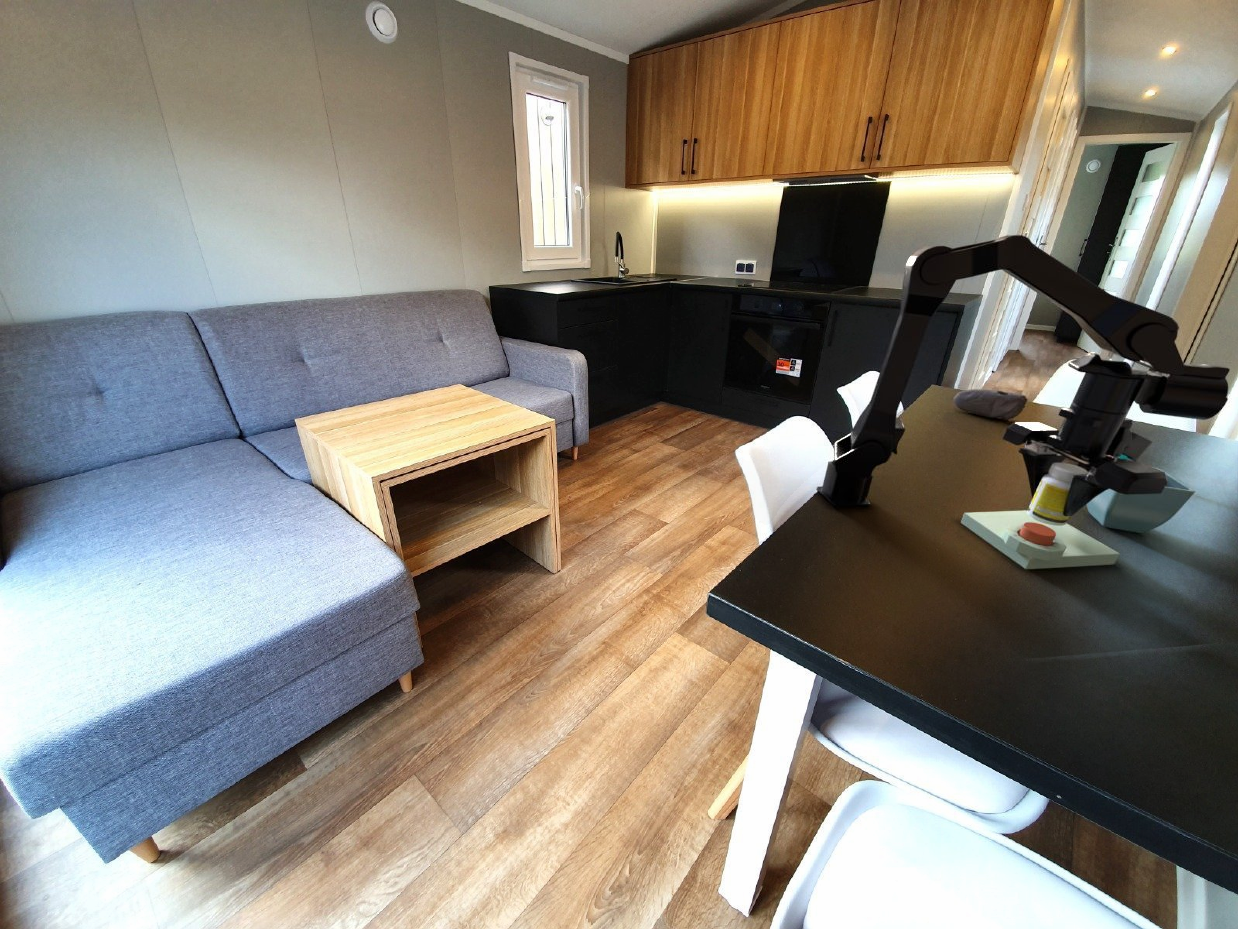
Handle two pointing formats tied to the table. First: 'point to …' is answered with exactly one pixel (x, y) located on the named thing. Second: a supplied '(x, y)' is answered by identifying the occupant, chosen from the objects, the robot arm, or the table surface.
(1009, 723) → the table surface
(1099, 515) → the flower pot
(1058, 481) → the supplement bottle
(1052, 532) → the button
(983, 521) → the kitchen scale
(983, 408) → the perforated stone tool
